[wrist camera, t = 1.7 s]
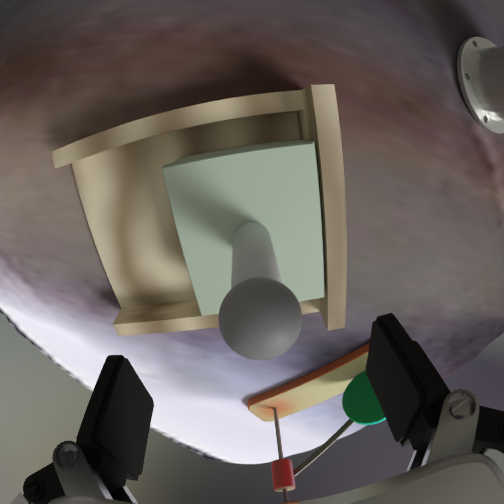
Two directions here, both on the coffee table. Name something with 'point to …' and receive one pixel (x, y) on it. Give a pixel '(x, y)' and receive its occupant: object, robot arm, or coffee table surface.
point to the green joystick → (251, 239)
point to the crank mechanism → (311, 393)
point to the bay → (159, 210)
